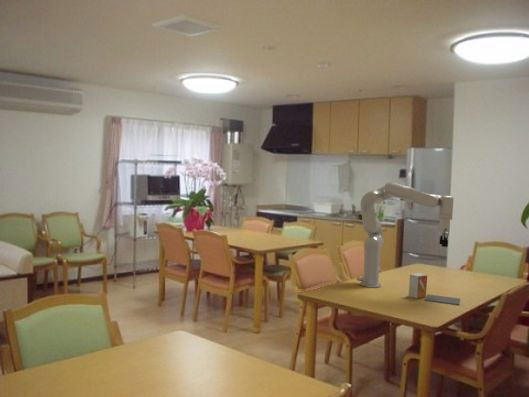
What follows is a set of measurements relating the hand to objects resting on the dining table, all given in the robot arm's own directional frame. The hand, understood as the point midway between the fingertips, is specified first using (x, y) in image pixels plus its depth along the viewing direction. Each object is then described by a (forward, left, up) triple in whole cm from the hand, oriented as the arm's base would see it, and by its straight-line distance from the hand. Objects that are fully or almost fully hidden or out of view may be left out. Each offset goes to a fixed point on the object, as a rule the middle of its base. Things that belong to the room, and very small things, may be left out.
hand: (443, 245), depth 290 cm
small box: (-12, -11, -30) cm, 34 cm away
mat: (+2, -11, -30) cm, 32 cm away
